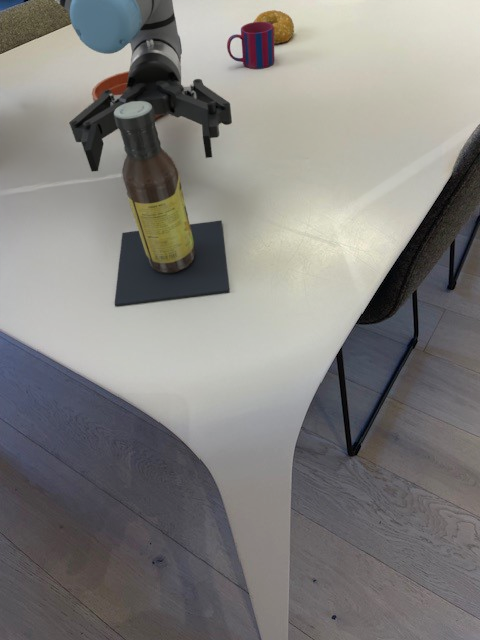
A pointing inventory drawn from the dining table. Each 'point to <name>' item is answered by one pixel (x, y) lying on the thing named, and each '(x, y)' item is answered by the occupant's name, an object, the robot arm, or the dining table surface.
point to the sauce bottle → (154, 190)
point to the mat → (194, 280)
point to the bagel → (278, 24)
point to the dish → (112, 86)
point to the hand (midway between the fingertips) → (149, 154)
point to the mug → (255, 45)
